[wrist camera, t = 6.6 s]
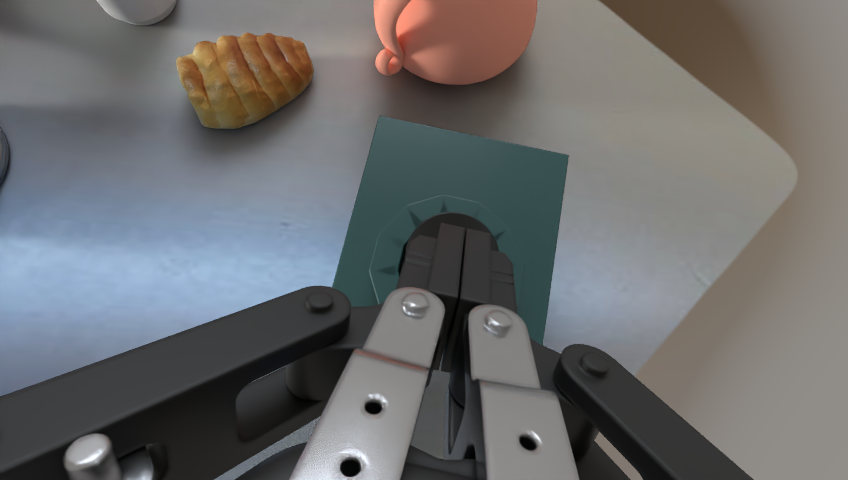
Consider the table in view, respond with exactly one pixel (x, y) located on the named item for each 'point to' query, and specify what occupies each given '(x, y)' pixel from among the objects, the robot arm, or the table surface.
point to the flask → (453, 208)
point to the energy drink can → (138, 10)
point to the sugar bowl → (452, 37)
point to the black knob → (433, 223)
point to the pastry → (243, 77)
